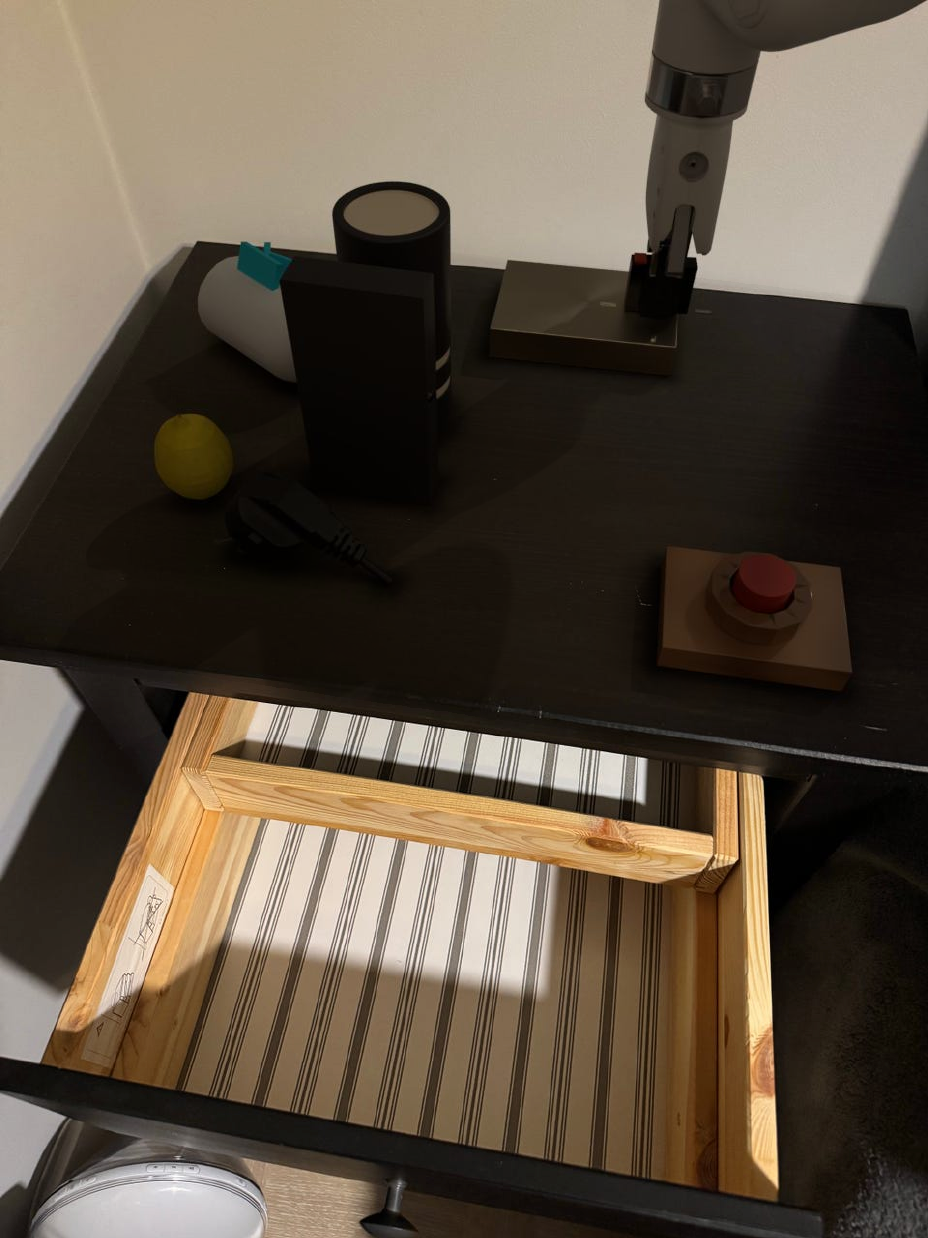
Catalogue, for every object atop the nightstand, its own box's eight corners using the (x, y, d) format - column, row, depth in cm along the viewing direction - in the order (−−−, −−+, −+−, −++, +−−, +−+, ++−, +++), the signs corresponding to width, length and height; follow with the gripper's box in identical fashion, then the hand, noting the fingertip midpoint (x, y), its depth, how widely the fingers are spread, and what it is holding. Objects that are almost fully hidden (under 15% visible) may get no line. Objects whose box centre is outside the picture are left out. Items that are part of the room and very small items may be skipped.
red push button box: (830, 587, 65) (849, 549, 61) (841, 691, 59) (862, 656, 56) (661, 565, 66) (671, 527, 63) (656, 666, 60) (667, 630, 57)
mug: (300, 289, 69) (205, 231, 74) (280, 399, 74) (193, 338, 79) (404, 287, 78) (313, 235, 83) (380, 385, 83) (295, 331, 88)
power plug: (378, 606, 62) (234, 496, 59) (331, 640, 68) (197, 541, 65) (411, 549, 65) (276, 441, 62) (363, 586, 71) (237, 490, 68)
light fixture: (470, 393, 78) (473, 188, 63) (433, 506, 69) (427, 298, 55) (360, 378, 79) (339, 173, 65) (311, 486, 70) (275, 278, 56)
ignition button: (786, 575, 60) (794, 557, 59) (789, 617, 58) (797, 600, 57) (732, 568, 61) (738, 550, 59) (732, 609, 59) (739, 592, 57)
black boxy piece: (685, 303, 81) (697, 254, 77) (687, 314, 80) (698, 264, 76) (623, 300, 81) (631, 251, 77) (624, 311, 80) (632, 261, 76)
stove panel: (703, 307, 85) (711, 277, 83) (702, 380, 79) (710, 349, 76) (506, 287, 87) (507, 257, 85) (489, 357, 81) (490, 326, 78)
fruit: (245, 514, 69) (224, 432, 62) (171, 527, 68) (141, 446, 61) (237, 465, 72) (216, 383, 66) (166, 477, 71) (138, 395, 65)
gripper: (765, 133, 61) (706, 363, 75) (740, 39, 70) (691, 259, 85) (653, 128, 61) (615, 358, 75) (642, 35, 70) (611, 255, 85)
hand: (656, 304), depth 80 cm, fingers closed on black boxy piece
